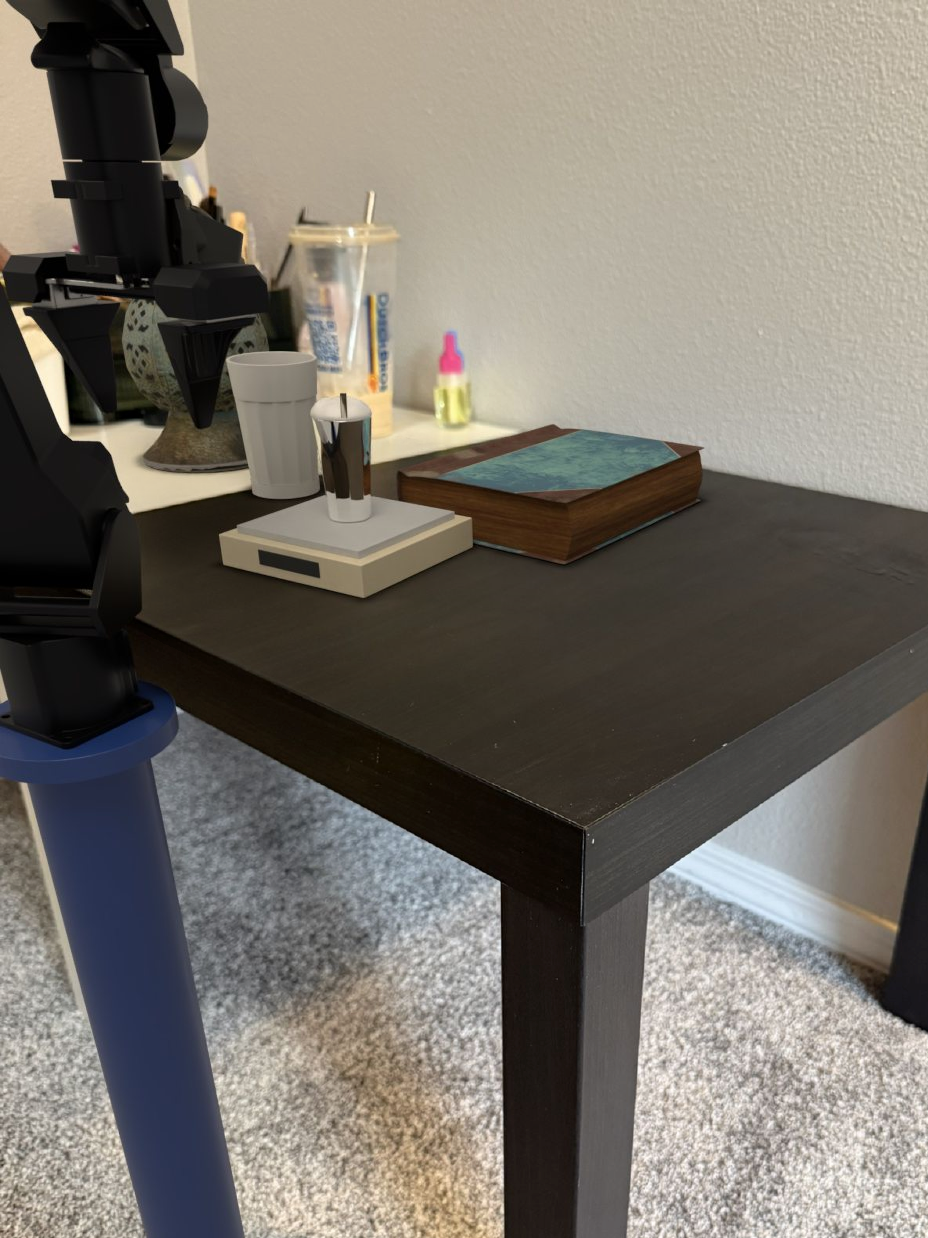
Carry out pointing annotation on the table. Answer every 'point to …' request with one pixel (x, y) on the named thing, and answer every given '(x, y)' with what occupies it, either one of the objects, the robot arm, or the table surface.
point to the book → (558, 489)
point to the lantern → (157, 382)
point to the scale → (347, 545)
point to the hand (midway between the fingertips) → (155, 420)
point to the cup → (277, 420)
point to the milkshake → (344, 455)
